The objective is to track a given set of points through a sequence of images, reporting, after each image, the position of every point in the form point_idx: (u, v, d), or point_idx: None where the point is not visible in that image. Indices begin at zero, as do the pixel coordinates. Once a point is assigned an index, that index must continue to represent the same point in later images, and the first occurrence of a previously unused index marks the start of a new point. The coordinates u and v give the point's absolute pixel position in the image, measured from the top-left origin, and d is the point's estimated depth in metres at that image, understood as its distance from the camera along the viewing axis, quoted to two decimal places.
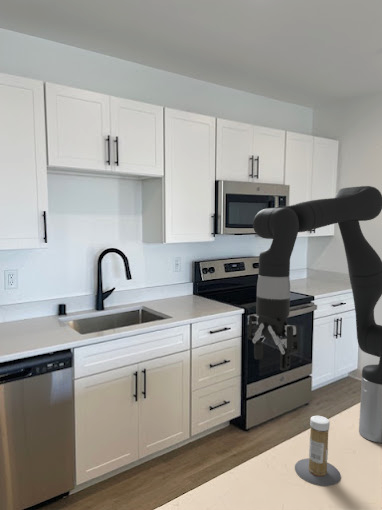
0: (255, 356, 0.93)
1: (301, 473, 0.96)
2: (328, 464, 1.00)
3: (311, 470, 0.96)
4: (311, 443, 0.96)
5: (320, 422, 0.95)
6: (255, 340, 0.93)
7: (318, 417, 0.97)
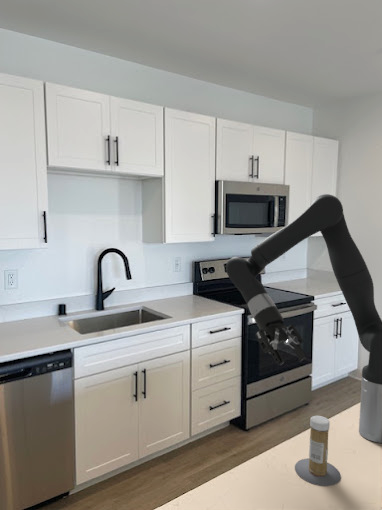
0: None
1: (301, 473, 0.96)
2: (328, 464, 1.00)
3: (311, 470, 0.96)
4: (311, 443, 0.96)
5: (320, 422, 0.95)
6: None
7: (318, 417, 0.97)
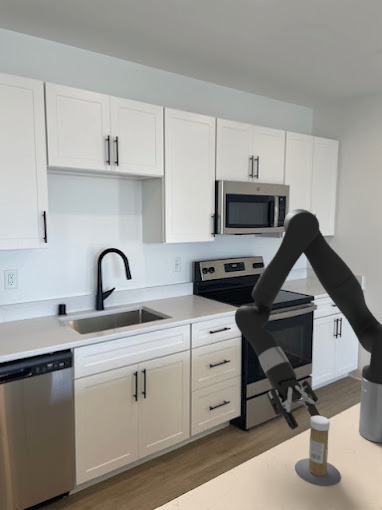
0: None
1: (301, 473, 0.96)
2: (328, 464, 1.00)
3: (311, 470, 0.96)
4: (311, 443, 0.96)
5: (320, 422, 0.95)
6: None
7: (318, 417, 0.97)
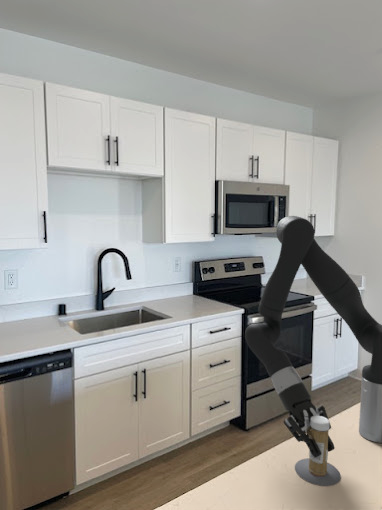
0: None
1: (301, 473, 0.96)
2: (328, 464, 1.00)
3: (311, 470, 0.96)
4: None
5: (320, 422, 0.94)
6: None
7: (318, 417, 0.97)
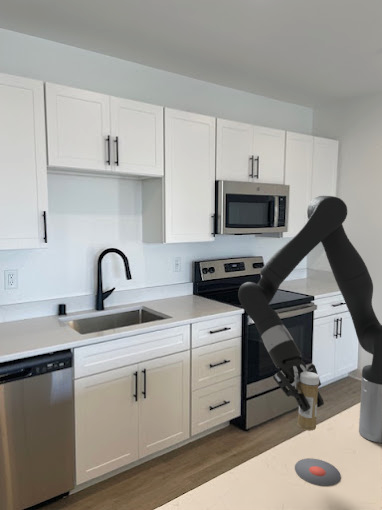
0: None
1: (301, 473, 0.96)
2: (328, 464, 1.00)
3: (300, 425, 0.95)
4: None
5: (309, 376, 0.94)
6: None
7: (308, 373, 0.96)
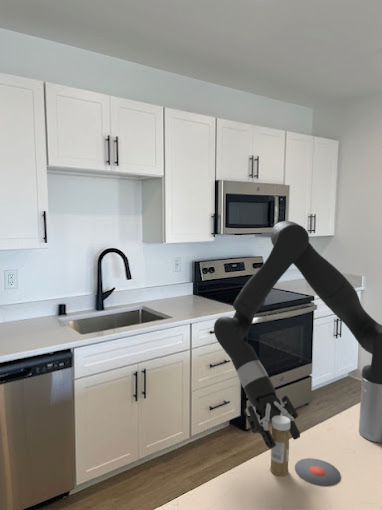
0: None
1: (301, 473, 0.96)
2: (328, 464, 1.00)
3: (272, 470, 0.96)
4: None
5: (280, 422, 0.94)
6: None
7: (280, 417, 0.97)
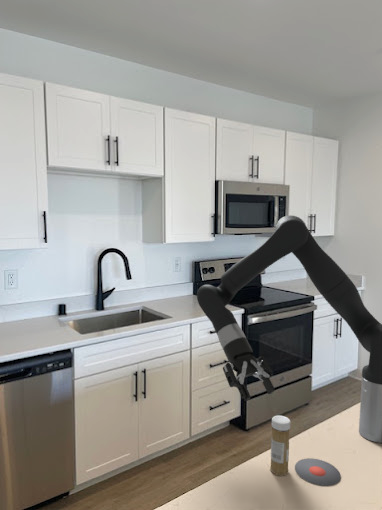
0: None
1: (301, 473, 0.96)
2: (328, 464, 1.00)
3: (272, 470, 0.96)
4: (272, 443, 0.96)
5: (280, 422, 0.94)
6: None
7: (279, 417, 0.97)
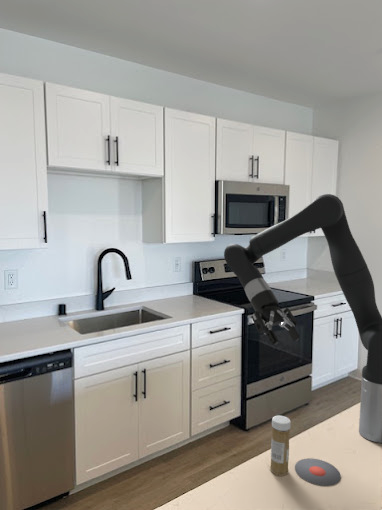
0: None
1: (301, 473, 0.96)
2: (328, 464, 1.00)
3: (272, 470, 0.96)
4: (272, 443, 0.96)
5: (280, 422, 0.94)
6: None
7: (280, 417, 0.97)
